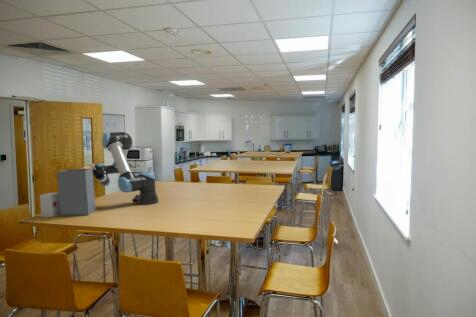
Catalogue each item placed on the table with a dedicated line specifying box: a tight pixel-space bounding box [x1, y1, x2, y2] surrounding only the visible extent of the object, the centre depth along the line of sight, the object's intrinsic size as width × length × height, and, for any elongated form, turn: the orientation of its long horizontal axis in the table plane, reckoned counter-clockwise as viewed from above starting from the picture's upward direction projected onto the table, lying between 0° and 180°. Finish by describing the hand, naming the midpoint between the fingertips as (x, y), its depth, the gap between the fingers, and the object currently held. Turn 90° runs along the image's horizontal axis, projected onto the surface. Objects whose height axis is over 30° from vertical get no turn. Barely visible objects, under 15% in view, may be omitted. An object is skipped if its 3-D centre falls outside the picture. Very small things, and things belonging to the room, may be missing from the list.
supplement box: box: [39, 192, 61, 218], centre depth 222 cm, size 9×9×15 cm
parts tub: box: [56, 168, 96, 218], centre depth 224 cm, size 18×13×30 cm
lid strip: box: [79, 164, 95, 170], centre depth 245 cm, size 3×24×3 cm, turn 4°
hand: (90, 164), depth 249 cm, fingers closed on lid strip, 3 cm apart
